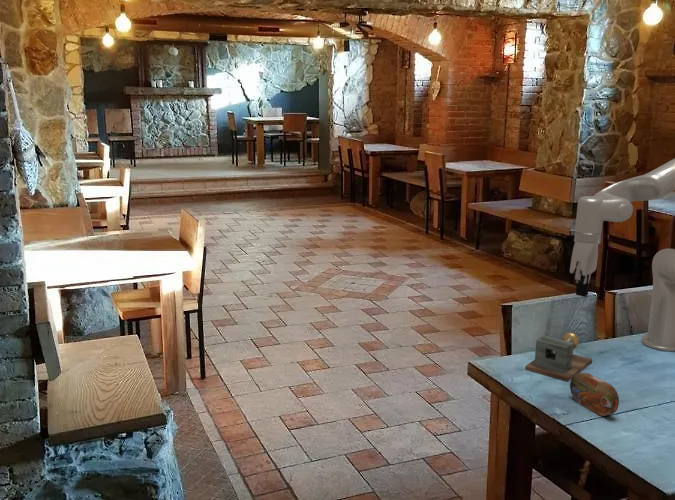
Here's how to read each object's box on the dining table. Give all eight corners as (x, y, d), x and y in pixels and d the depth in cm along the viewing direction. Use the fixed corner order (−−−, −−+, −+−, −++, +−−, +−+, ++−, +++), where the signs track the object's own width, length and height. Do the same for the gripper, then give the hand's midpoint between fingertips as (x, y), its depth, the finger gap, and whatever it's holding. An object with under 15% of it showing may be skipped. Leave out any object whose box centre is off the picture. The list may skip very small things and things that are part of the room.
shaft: (562, 345, 210) (564, 330, 209) (578, 349, 207) (580, 334, 206) (544, 358, 201) (545, 342, 199) (560, 362, 197) (562, 346, 196)
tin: (567, 397, 183) (570, 368, 181) (577, 395, 185) (579, 366, 183) (609, 422, 170) (613, 391, 168) (619, 419, 171) (622, 389, 169)
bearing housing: (551, 351, 214) (553, 324, 212) (591, 362, 206) (594, 334, 204) (525, 369, 201) (527, 340, 199) (567, 381, 193) (570, 351, 191)
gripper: (585, 231, 213) (579, 287, 217) (565, 239, 202) (559, 298, 206) (609, 235, 208) (602, 292, 212) (590, 243, 197) (584, 303, 201)
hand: (581, 295), depth 209 cm, fingers closed
